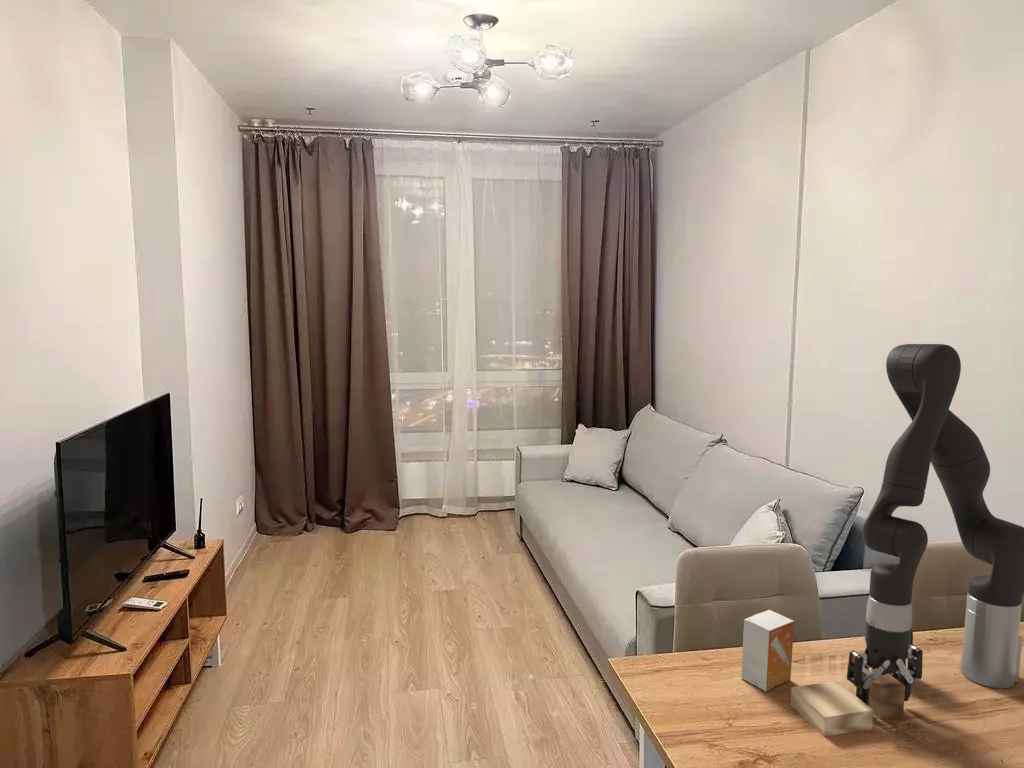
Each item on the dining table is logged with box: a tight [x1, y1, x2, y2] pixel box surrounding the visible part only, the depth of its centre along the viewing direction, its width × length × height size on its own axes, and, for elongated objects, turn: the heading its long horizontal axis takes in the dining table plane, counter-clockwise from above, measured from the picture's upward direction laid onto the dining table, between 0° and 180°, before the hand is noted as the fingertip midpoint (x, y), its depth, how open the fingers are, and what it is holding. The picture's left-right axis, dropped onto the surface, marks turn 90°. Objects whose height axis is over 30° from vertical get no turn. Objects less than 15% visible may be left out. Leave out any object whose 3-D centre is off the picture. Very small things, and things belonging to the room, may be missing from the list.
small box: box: [740, 609, 795, 692], centre depth 148 cm, size 8×6×13 cm
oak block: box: [790, 680, 874, 737], centre depth 136 cm, size 10×10×4 cm
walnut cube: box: [863, 674, 905, 720], centre depth 138 cm, size 5×5×6 cm
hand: (882, 701), depth 138 cm, fingers open, 8 cm apart
